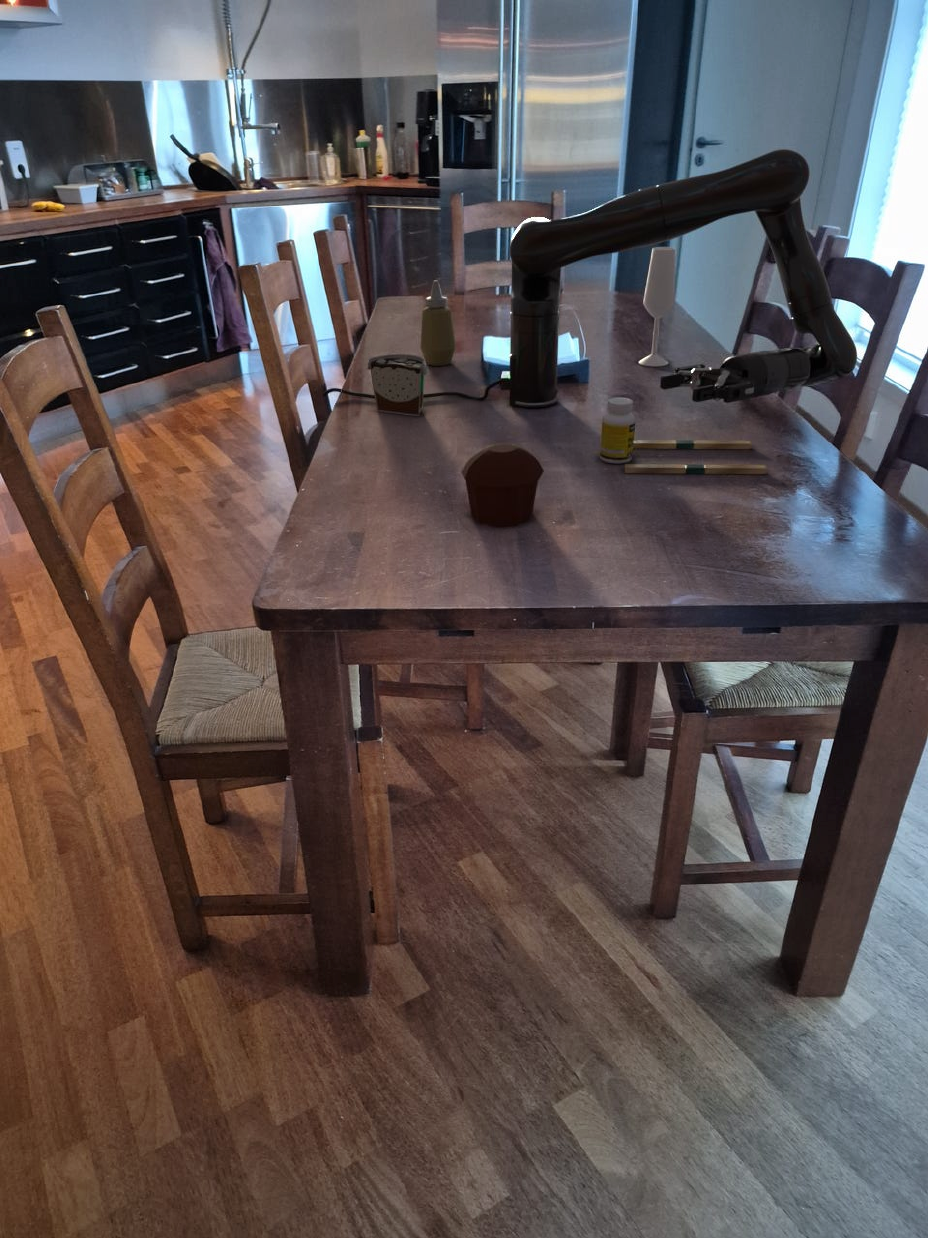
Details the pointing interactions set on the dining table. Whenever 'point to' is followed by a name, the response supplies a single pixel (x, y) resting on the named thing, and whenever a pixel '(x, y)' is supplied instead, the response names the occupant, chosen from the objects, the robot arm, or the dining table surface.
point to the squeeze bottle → (437, 329)
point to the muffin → (502, 484)
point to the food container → (398, 383)
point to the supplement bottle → (617, 431)
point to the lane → (693, 468)
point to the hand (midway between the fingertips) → (677, 388)
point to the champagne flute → (659, 295)
